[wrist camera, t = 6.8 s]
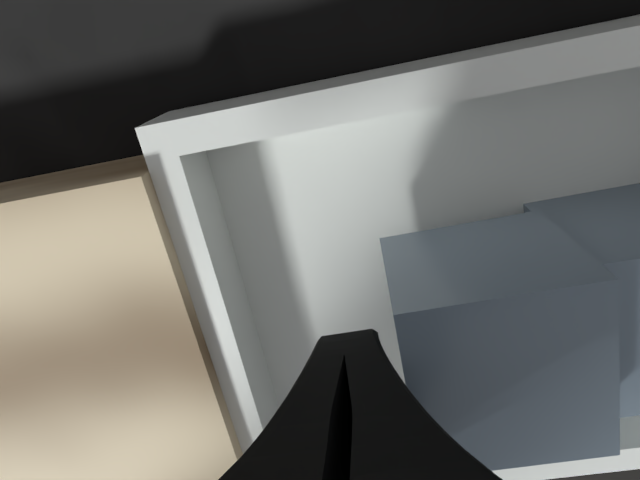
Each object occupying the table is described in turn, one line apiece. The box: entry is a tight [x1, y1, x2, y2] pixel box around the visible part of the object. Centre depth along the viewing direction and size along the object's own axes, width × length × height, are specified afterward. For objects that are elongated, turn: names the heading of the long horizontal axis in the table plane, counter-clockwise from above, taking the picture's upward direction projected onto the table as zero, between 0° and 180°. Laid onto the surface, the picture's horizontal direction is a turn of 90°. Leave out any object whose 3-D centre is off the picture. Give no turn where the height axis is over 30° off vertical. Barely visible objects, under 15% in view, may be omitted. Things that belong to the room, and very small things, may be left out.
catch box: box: [135, 14, 640, 480], centre depth 14 cm, size 12×14×2 cm
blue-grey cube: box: [379, 210, 620, 471], centre depth 12 cm, size 4×4×4 cm
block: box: [523, 183, 640, 418], centre depth 13 cm, size 4×4×4 cm
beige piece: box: [0, 155, 243, 480], centre depth 15 cm, size 10×12×3 cm
